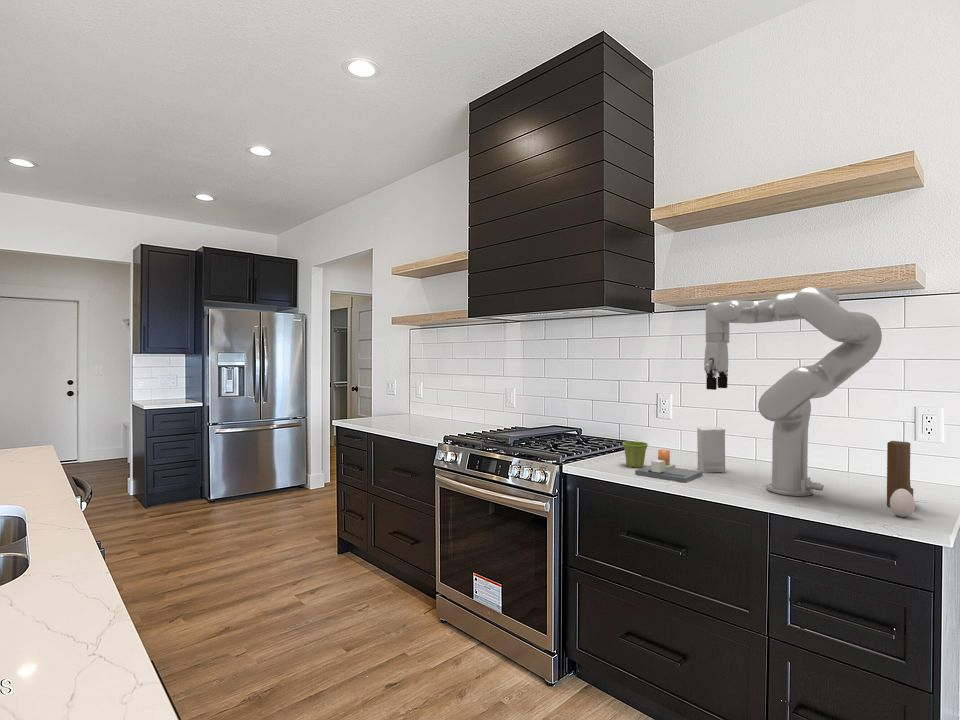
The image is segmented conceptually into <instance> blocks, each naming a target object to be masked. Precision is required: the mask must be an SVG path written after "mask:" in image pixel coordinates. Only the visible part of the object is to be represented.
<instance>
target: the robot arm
mask: <svg viewBox="0 0 960 720" xmlns="http://www.w3.org/2000/svg"><path fill="white" fill-rule="evenodd" d="M795 320H805V321H806V322H807V323H808V324H810V325H811V326H813V327H814V328H815V329H817V330H818V331H820V333H822V334H823V335H825V336H826V337H827V338H828V339H830V340H832V341H835V342H838V343H841V344H840V345H838V346H837V347H835V348H834V349H832V350H830V352H828V353H827V354H826V355H825V356H824V357H822V358H821V359H819V361H817V362H815V364H812V365H803V366H801V365H800V366H798V367H794V368H793V369H792V370H790V371H788V372H787V373H786V374H785V375H783V376H782V377H781V378H779V379H778V380H777V381H776V382H775V383H774V384H772V386H770V387H769V388H768V389H767V390H766V391H765V392H763V394H762V395H761V396H760V398H759V399H758V404H757V408H758V412H759V414H760V415H761V416H762V417H763V418H764V419H766V420H767V421H771V422H774V423H773V429H772V446H771V448H772V450H771V453H772V454H771V457H772V458H771V459H772V461H771V483H768V484H766V490H767V491H769V492H772V493H774V494H779V495H783V496H794V497H806V496H811V495H814V490H815V491H821V492H823V491H824V484H823V483H820V482H813V481H812V480H811V477H809V476H808V465H809V464H808V463H809V462H808V459H809V458H808V457H809V456H808V455H809V454H808V453H809V452H808V450H809V449H808V448H809V447H808V446H809V445H808V444H809V443H808V442H809V425H810V417H811V411H812V404H811V400H812V399H813V400H814V399H820V398H824V397H827V396H828V395H830V394H831V393H832V392H833V391H834V390H836V389H837V388H838V387H839V386H840V385H842V384H843V383H844V382H845V381H847V380H848V379H849V378H851V377H852V376H853V375H854V374H855V373H857V372H858V371H859V370H861V369H862V368H863V367H865V366H866V365H867V364H868V363H869V362H870V361H871V360H872V359H873V358H874V357H875V355H876V354H877V353H878V352H879V350H880V347H881V346H882V345H881V344H882V339H883V334H882V328H881V326H880V324H879V321H877V319H876V318H875V317H873V316H871V315H869V314H868V313H864V312H858V311H848V309H847V310H846V309H845V308H843V307H842V306H841V305H840V298H839V296H838V295H837V293H836V292H835V291H833V290H831V289H828V288H824V287H817V286H816V287H815V286H808V287H804V288H802V289H801V290H799V291H791V292H784V293H783V292H782V293H779V294H776V296H775V297H774V298H770V299H763V300H762V299H761V300H751V301H749V300H740V299H739V300H738V299H731V300H728V301H724V302H723V301H721V302H718V301H717V302H710V303H708V304H706V306H705V349H704V350H705V351H704V362H703V363H704V365H703V370H704V372H705V377H706V379H705V380H706V382H705V383H706V384H705V385H706V387H705V388H706V390H712V391H715V390H717V389H727V388H728V380H729V379H728V376H729V374H728V372H729V369H728V368H729V349H728V348H729V346H728V344H730V324H731V323H732V324H746V325H747V324H750V325H751V324H761V323H762V324H763V323H772V322H785V321H795ZM717 374H718V376H717ZM716 376H717V377H716Z"/></svg>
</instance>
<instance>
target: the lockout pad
mask: <svg viewBox="0 0 960 720" xmlns="http://www.w3.org/2000/svg"><path fill="white" fill-rule="evenodd" d="M672 468H676V464H674V463H673V464H672V463H670V465H669V466H665V470H669V469H672Z"/></svg>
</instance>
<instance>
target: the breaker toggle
mask: <svg viewBox="0 0 960 720" xmlns="http://www.w3.org/2000/svg"><path fill="white" fill-rule="evenodd" d="M650 466H651V471H652V472H658V473H660V472H663V471H665V461H663V460H658V459H655V460H652V461H651V465H650Z"/></svg>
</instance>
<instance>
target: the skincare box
mask: <svg viewBox="0 0 960 720" xmlns="http://www.w3.org/2000/svg"><path fill="white" fill-rule="evenodd" d="M696 431H697V432H696V433H697V434H696V436H697V439H696V440H697V449H696V450H697V471H702V472H703V474H704V472H706V473H707V472H722V474H723V473H726V429H725V428H722V427H718V426H710V427H709V426H707V427H706V426H704V427H703V426H701V427H699V426H697V427H696ZM706 473H705V474H706ZM707 474H708V473H707Z"/></svg>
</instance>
